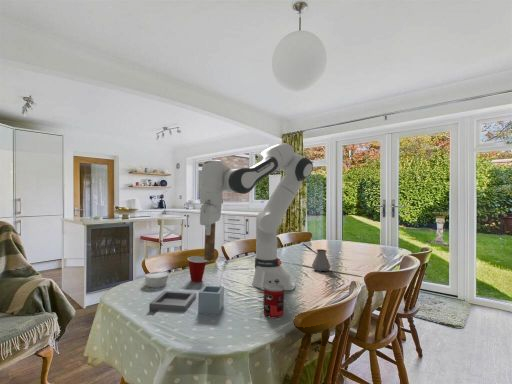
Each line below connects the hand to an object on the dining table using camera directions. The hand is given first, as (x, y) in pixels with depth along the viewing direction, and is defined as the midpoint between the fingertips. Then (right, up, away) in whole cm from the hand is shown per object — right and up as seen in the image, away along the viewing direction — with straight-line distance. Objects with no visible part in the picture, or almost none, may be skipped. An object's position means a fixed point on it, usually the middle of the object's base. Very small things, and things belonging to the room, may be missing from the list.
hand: (210, 234), depth 114 cm
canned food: (+26, -32, -1) cm, 41 cm away
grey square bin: (0, -31, 0) cm, 31 cm away
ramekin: (-32, -31, +30) cm, 53 cm away
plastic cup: (-13, -31, +38) cm, 51 cm away
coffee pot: (+57, -33, +69) cm, 95 cm away
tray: (-16, -31, +5) cm, 35 cm away
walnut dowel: (0, -10, 0) cm, 10 cm away
